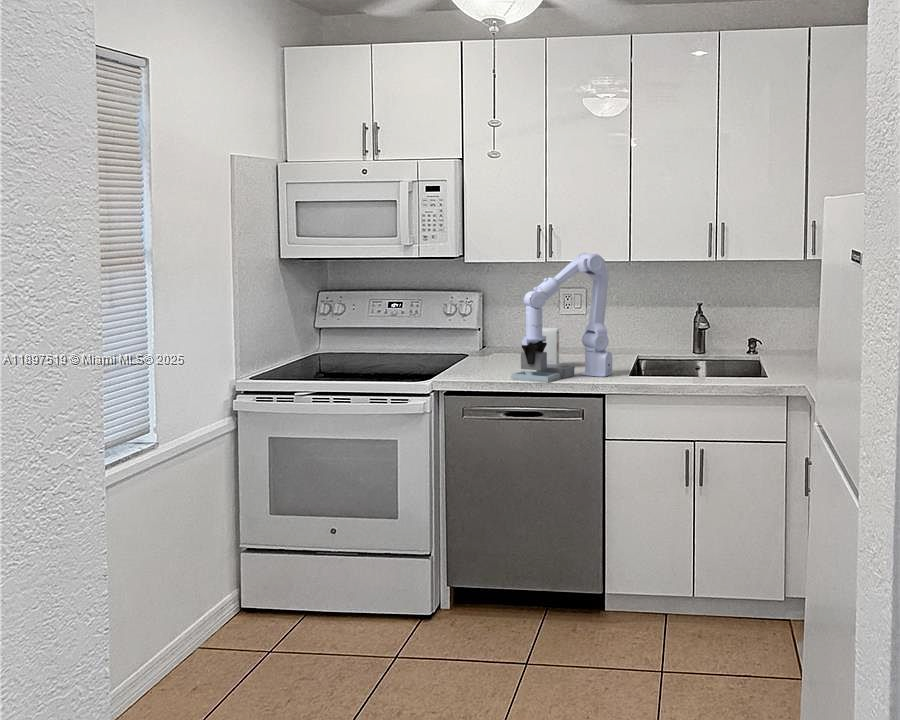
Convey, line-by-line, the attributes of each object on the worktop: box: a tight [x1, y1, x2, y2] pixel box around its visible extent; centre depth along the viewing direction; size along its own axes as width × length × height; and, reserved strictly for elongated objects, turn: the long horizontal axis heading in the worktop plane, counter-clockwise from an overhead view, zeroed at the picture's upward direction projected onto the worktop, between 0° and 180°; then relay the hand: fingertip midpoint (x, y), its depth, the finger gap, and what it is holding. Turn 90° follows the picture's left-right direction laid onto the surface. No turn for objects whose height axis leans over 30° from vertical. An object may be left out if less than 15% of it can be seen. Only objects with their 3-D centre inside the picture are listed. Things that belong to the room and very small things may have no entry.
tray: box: [510, 370, 561, 383], centre depth 409 cm, size 15×9×2 cm, turn 57°
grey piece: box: [542, 327, 560, 365], centre depth 437 cm, size 9×9×15 cm
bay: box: [535, 364, 575, 379], centre depth 417 cm, size 11×8×4 cm
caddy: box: [520, 351, 547, 371], centre depth 409 cm, size 8×4×7 cm, turn 56°
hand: (534, 363), depth 409 cm, fingers closed on caddy, 4 cm apart
